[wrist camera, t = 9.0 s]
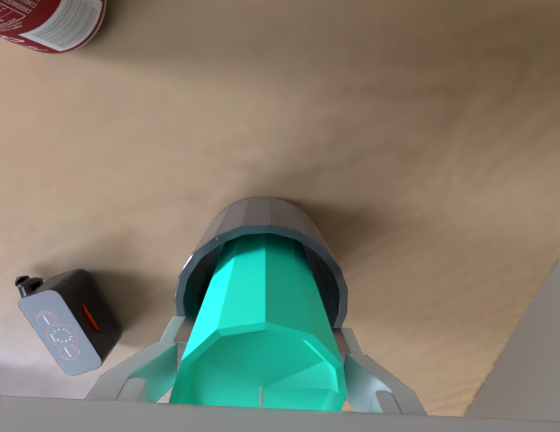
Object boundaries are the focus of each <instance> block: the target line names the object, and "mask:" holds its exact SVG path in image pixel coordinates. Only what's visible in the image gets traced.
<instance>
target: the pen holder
mask: <svg viewBox="0 0 560 432" xmlns="http://www.w3.org/2000/svg"><path fill="white" fill-rule="evenodd" d="M265 233H272V234H276V235H280V236H285V237H289V238H293V239H296V240H298V241H300V242H301V243H302V244H303V246H304V249H305V252H306V255H307V258H308V261H309V264H310V267H311V270H312V273H313V276H314V279H315V282H316V285H317V288H318V291H319V294H320V297H321V300H322V303H323V306H324V309H325V312H326V315H327V318H328V321H329V324H330V327H331V328H341V327H342V324H343V322H344V319H345V317H346V314H347V297H348V290H347V286H346V283H345V280H344V277H343V274H342V271H341V268H340V266H339V264H338V262H337V260H336V259H335V257H334V255H333V253H332V252H331V250H330V248H329V246H328V244H327V243H326V241H325V239H324V237H323V236H322V234H321V232H320V230H319V229H318V227H317V226H316V225H315V223H314V222H313V220H312V219H311V218H310V217H309V216H308V215H307V214H306V213H305V212H304V211H303V210H302V209H300V208H299V207H297V206H296V205H294V204H292V203H290V202H288V201H285V200H282V199H279V198H273V197H253V198H248V199H244V200H241V201H238V202H236V203H234V204H232V205H230V206H229V207H227V208H226V209H224V210H223V211H222V212H221V213H220V214H219V215H218V216H217V217H216V218H215V219H214V220H213V221H212V223H211V225H210V226H209V228H208V229H207V231H206V232H205V234H204V236H203V237H202V239H201V241H200V242H199V244H198V245H197V247H196V249H195V250H194V252H193V253H192V255H191V257H190V258H189V260H188V262H187V263H186V265H185V266H184V268H183V270H182V271H181V273H180V275H179V277H178V282H177V287H176V292H175V297H174V304H175V310H176V316H180V317H192V318H197V317H198V314H199V312H200V309H201V306H202V303H203V301H204V298H205V295H206V293H207V290H208V287H209V285H210V282H211V279H212V277H213V274H214V271H215V269H216V266H217V263H218V261H219V258H220V255H221V253H222V250H223V247H224V244H225V242H226V241H228V240H231V239H234V238H237V237H239V236H242V235H246V234H265Z"/></svg>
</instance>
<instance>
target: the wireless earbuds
mask: <svg viewBox="0 0 560 432" xmlns="http://www.w3.org/2000/svg"><path fill="white" fill-rule="evenodd" d="M15 285H16V286H17V287H18V289H19V292H20V295H21V297H22V298H21V300H20V301H19V308H20V309H21V311H22V312H23V314H24V315H25V317H26V318H27V320H28V321H29V322H30V324H31V325H32V327H33V328H34V330H35V331H36V333H37V334H38V335H39V337H40V338H41V340H42V341H43V343H44V344H45V346H46V347H47V348H48V350H49V351H50V353H51V354H52V356H53V357H54V359H55V360H56V361H57V363H58V364H59V366H60V367H61V369H62V370H63V371H64V372H65V373H66V374H68V375H73V376H74V375H78V374H81V373H85V372H88V371H91V370H94V369H97V368H99V367H100V366H101V365H102V364H103V362H104V361H105V360H106V358H107V357H108V355H109V354H110V353H111V351H112V350H113V348H114V347H115V346H116V344H117V343H118V341H119V340H120V338H121V336H122V330H121V328H120V326H119V325H118V323H117V321H116V320H115V318H114V316H113V314H112V313H111V311H110V309H109V308H108V306H107V304H106V302H105V301H104V299H103V297H102V296H101V294H100V292H99V290H98V289H97V287H96V285H95V284H94V282H93V280H92V278H91V277H90V275H89V273H88V272H87V271H85V270H83V269H76V270H73V271H70V272H67V273H64V274H61V275H58V276H55V277H53V278H51V279H50V280H48V281H47V282H45V283H44V284H43V278H40V277H34V278H29V276H19V277H17V278H16V281H15Z"/></svg>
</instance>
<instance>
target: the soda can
mask: <svg viewBox="0 0 560 432" xmlns="http://www.w3.org/2000/svg"><path fill="white" fill-rule="evenodd" d="M106 3H107V0H0V38H2V39H5V40H7V41H10V42H13V43H15V44H18V45H21V46H24V47H26V48H29V49H32V50H35V51H38V52H42V53H47V54H63V53H68V52H72V51H75V50H77V49H79V48H81V47H83V46H84V45H86V44H87V43H88V42H89V41H90V40H91V39H92V38H93V37H94V36H95V34H96V33H97V31H98V30H99V28H100V26H101V24H102V21H103V19H104V15H105V11H106Z"/></svg>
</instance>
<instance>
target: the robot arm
mask: <svg viewBox="0 0 560 432" xmlns="http://www.w3.org/2000/svg"><path fill="white" fill-rule="evenodd" d="M196 320H197V318H192V317H180V316H173V317H172V318H171V320H170V322H169V324H168V326H167V328H166V330H165V332H164V334H163V336H162V337H161V339H160V341H159V342H154V343H153V344H151V345H149V346H148V347H146V348H144V349H143V350H141V351H140V352H138V353H136V354H135V355H133V356H131V357H130V358H128V359H127V360H125V361H123V362H122V363H120V364H118V365H117V366H115V367H114V368H112V369H110V370H109V371H107V372H105V373H104V374H102V375H101V376H100V378H99V379H98V381H97V382H96V384H95V385H94V386H93V388H92V389H91V391H90V392H89V394H88V395H87V397H86V398H85V399H63V398H41V397H20V396H0V432H560V421H543V420H521V419H498V418H497V419H496V418H477V417H455V416H433V415H427V413H426V412H425V410H424V408H423V406H422V405H421V403H420V401H419V399H418V398H417V396H416V394H415V393H414V391H412V390H411V389H410V388H409V387H407V386H406V385H405V384H403V383H402V382H401V381H400V380H398V379H397V378H396V377H394V376H393V375H392V374H391V373H389V372H388V371H387V370H385V369H384V368H383V367H382V366H380V365H379V364H378V363H376V362H375V361H374V360H373V359H371V358H370V357H369V356H367V355H363V353H362V351H361V348H360V346H359V344H358V342H357V340H356V337H355V335H354V333H353V331H352V329H351V328H331V330H332V333H333V336H334V339H335V342H336V345H337V348H338V351H339V354H340V357H341V359H342V362H343V365H344V373H345V380H346V387H347V395H346V398H345V399H346V400H347V401H348V402H349V404H350V405H351V406H352V407H353V409H354V410H355V411H356V412H345V411H324V410H302V409H280V408H258V407H236V406H214V405H193V404H171V403H156V402H157V401H158V400H159V399H160V398H161V397H162V396H163V395H164V394H165V393H166V392H167V391H168V390H169V389H170V388H171V387H172V386H173V385H174V383H175V380H176V376H177V373H178V370H179V366H180V363H181V360H182V357H183V354H184V352H185V349H186V346H187V344H188V341H189V338H190V336H191V333H192V330H193V328H194V325H195V322H196Z"/></svg>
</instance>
